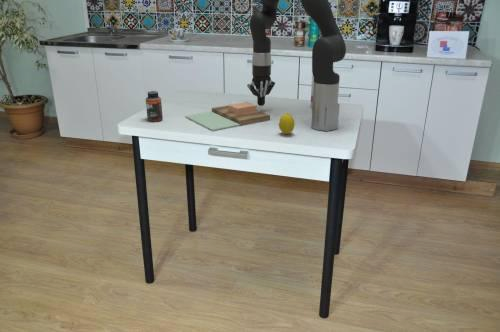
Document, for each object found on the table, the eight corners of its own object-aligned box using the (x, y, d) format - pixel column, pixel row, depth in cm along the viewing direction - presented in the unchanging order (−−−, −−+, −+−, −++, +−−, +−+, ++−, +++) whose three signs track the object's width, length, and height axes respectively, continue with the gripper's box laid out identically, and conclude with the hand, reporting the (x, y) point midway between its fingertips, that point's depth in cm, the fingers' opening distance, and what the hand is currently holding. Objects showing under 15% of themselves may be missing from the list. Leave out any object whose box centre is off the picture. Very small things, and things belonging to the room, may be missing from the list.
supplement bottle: (161, 117, 190) (159, 89, 186) (163, 121, 185) (161, 93, 181) (146, 118, 189) (144, 90, 184) (148, 122, 183) (146, 94, 179)
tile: (256, 111, 192) (256, 105, 191) (237, 114, 187) (237, 108, 186) (246, 107, 197) (246, 101, 196) (228, 110, 192) (228, 104, 191)
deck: (270, 120, 187) (270, 115, 187) (240, 125, 180) (240, 120, 179) (239, 107, 204) (239, 103, 204) (211, 112, 197) (211, 108, 196)
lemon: (293, 132, 173) (293, 111, 170) (294, 137, 168) (295, 115, 165) (278, 132, 173) (278, 111, 170) (279, 137, 168) (280, 115, 165)
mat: (239, 125, 180) (239, 124, 180) (212, 131, 174) (212, 129, 173) (211, 112, 197) (211, 111, 197) (185, 117, 191) (185, 115, 190)
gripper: (253, 66, 184) (253, 109, 190) (280, 63, 191) (279, 105, 197) (242, 63, 189) (242, 105, 196) (269, 60, 196) (268, 101, 203)
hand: (261, 105), depth 196 cm, fingers closed
